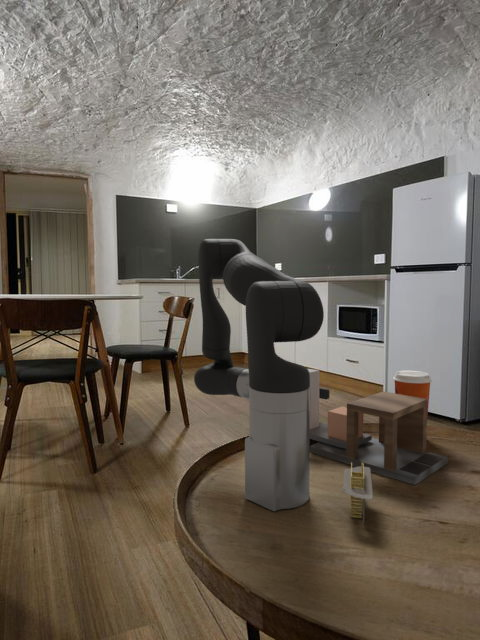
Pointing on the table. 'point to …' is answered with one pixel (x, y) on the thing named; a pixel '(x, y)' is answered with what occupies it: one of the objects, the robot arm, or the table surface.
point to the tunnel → (388, 438)
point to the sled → (331, 420)
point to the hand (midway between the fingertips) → (316, 398)
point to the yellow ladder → (361, 492)
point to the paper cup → (413, 384)
